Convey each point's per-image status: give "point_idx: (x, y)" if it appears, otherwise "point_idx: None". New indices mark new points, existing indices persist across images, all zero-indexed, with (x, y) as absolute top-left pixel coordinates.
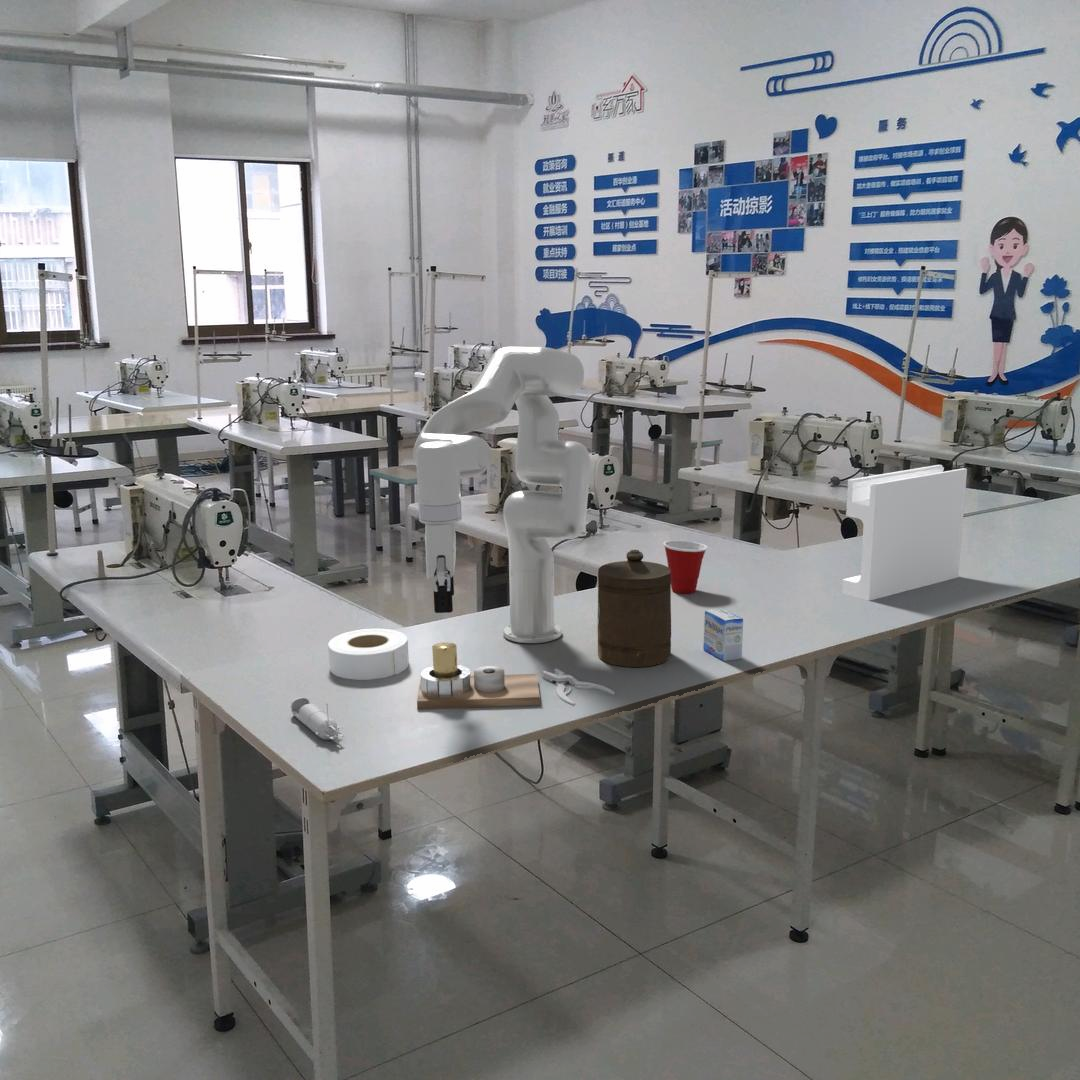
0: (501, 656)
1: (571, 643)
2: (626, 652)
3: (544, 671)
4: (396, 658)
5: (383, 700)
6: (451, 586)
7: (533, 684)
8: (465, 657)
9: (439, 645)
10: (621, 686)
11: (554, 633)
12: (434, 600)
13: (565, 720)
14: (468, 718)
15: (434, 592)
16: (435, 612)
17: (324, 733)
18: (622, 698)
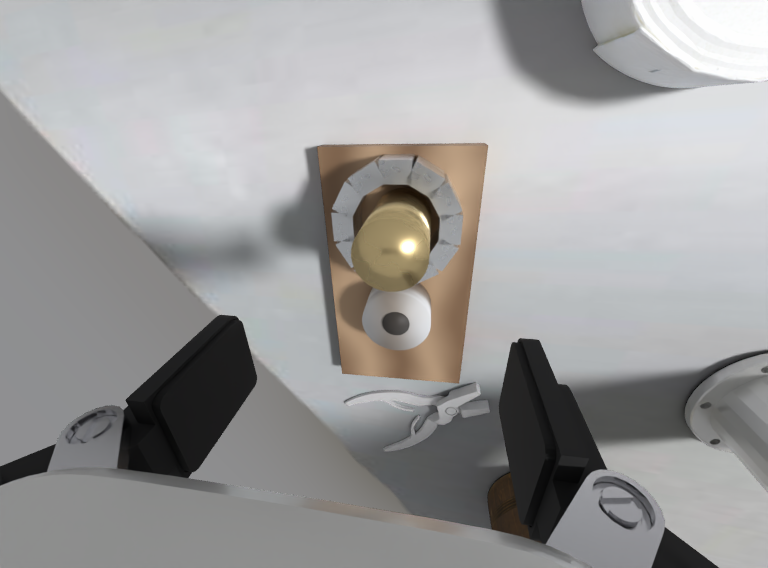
0: (634, 331)
1: (655, 446)
2: (498, 507)
3: (476, 394)
4: (623, 47)
5: (382, 37)
6: (509, 447)
7: (403, 372)
8: (667, 255)
9: (399, 242)
10: (415, 461)
11: (718, 439)
12: (177, 356)
13: (287, 384)
14: (281, 253)
15: (134, 398)
16: (221, 316)
17: None
18: (369, 453)
